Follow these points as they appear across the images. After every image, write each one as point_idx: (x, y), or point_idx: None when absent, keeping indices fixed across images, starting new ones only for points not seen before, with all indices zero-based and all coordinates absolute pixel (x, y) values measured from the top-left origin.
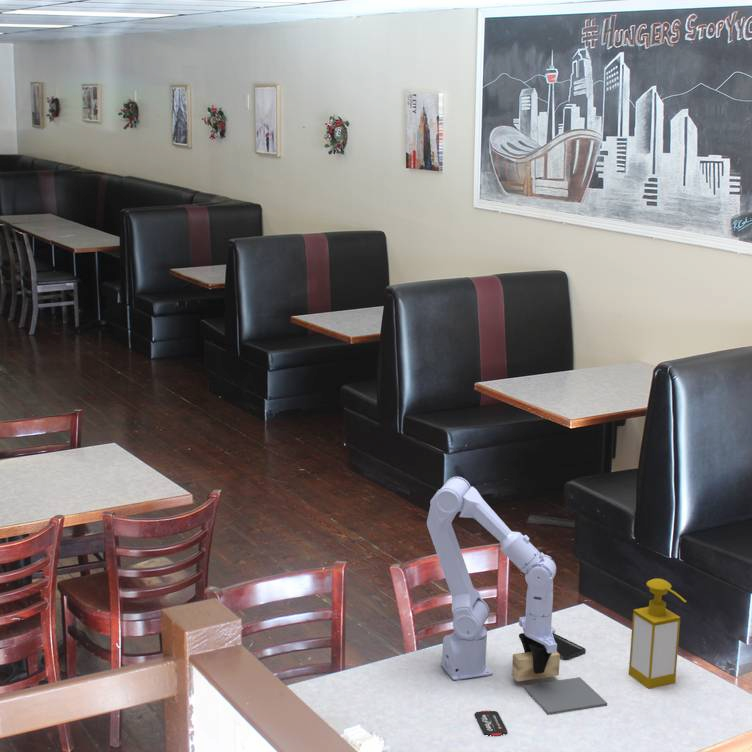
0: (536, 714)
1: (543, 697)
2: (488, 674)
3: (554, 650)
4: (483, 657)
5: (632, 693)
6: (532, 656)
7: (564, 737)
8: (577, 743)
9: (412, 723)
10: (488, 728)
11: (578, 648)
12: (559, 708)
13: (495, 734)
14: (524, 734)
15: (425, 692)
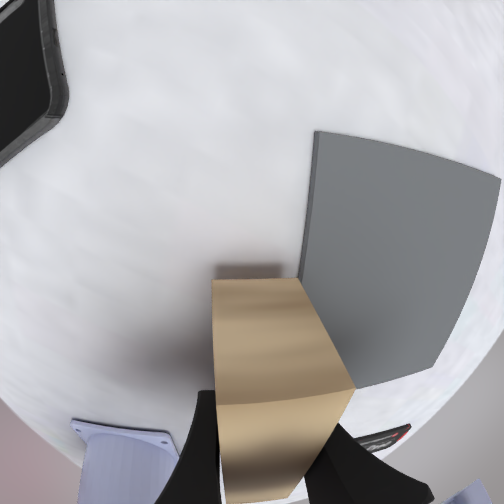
0: (409, 383)
1: (378, 366)
2: (172, 441)
3: (475, 491)
4: (159, 488)
5: (469, 32)
6: (281, 481)
7: (482, 346)
8: (501, 329)
9: (302, 491)
10: (383, 445)
11: (12, 13)
12: (442, 338)
13: (401, 437)
14: (431, 403)
15: (220, 489)
